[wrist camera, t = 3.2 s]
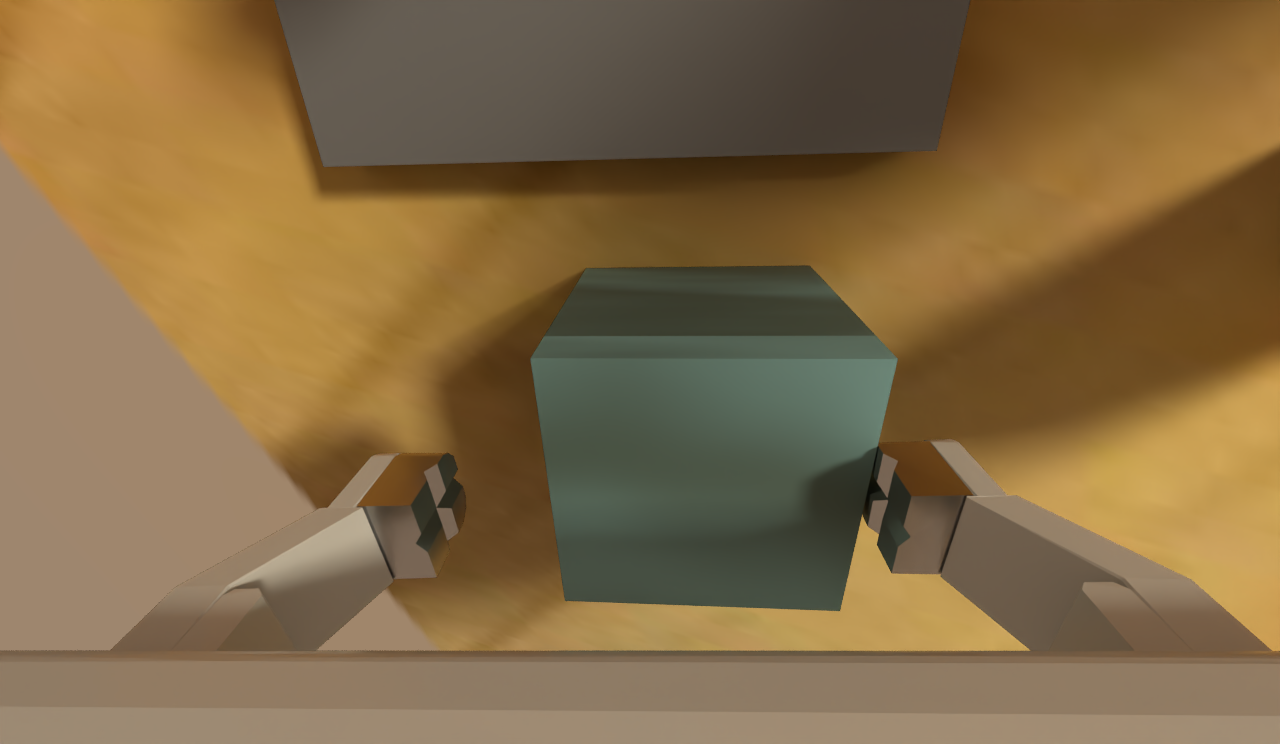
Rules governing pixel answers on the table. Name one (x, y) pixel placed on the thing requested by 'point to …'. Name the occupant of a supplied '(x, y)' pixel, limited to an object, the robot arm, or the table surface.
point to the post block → (620, 77)
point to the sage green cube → (709, 435)
